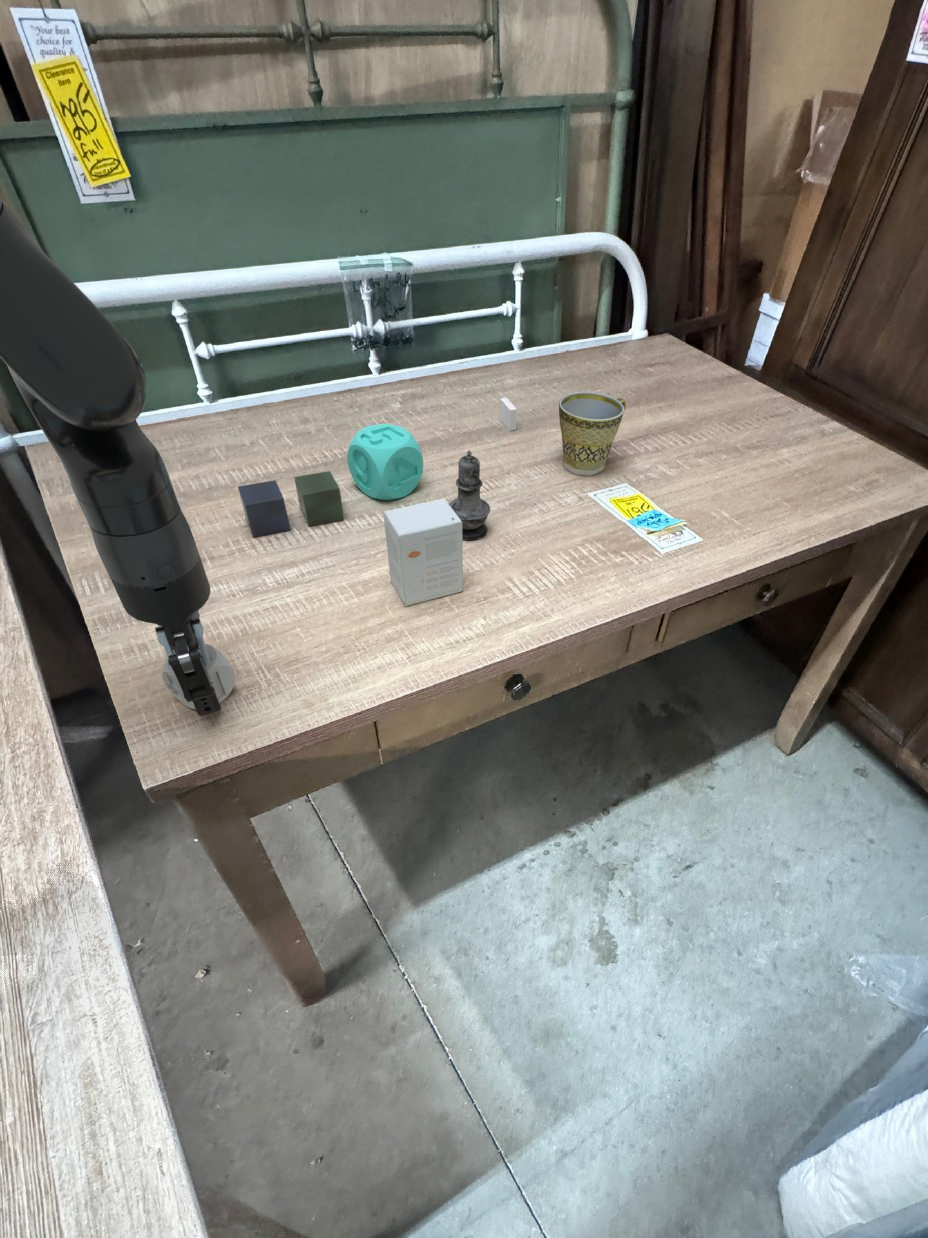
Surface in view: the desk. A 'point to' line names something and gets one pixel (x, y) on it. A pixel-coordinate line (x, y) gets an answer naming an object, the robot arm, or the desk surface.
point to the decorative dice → (385, 461)
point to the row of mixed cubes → (269, 507)
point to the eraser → (508, 414)
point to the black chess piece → (470, 499)
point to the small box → (424, 551)
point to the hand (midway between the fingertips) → (204, 687)
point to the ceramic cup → (588, 430)
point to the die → (218, 672)
